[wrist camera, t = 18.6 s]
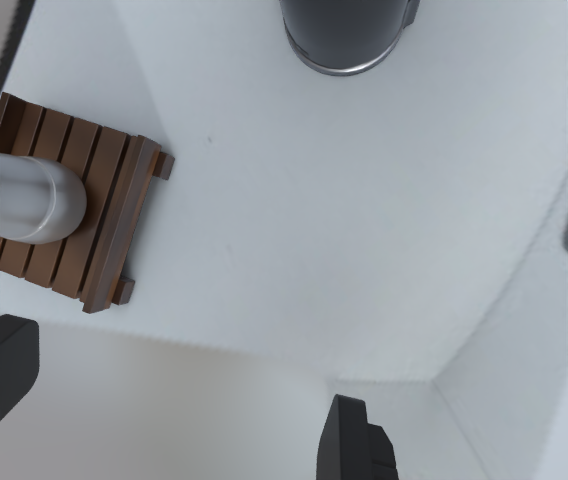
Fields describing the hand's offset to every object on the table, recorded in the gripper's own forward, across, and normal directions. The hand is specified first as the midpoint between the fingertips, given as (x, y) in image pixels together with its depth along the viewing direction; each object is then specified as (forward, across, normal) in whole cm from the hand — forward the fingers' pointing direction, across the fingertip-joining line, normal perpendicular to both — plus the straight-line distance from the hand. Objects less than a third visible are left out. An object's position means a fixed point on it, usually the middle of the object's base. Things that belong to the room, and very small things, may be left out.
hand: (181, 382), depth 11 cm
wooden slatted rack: (+24, +17, +6) cm, 30 cm away
